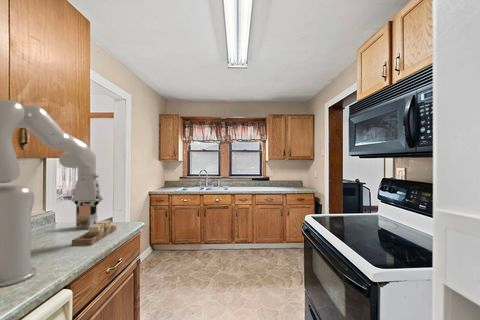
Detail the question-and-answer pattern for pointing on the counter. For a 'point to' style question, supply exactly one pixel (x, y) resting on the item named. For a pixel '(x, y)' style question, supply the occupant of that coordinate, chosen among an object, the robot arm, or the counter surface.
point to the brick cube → (85, 210)
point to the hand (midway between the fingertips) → (87, 214)
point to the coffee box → (85, 219)
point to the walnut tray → (92, 237)
